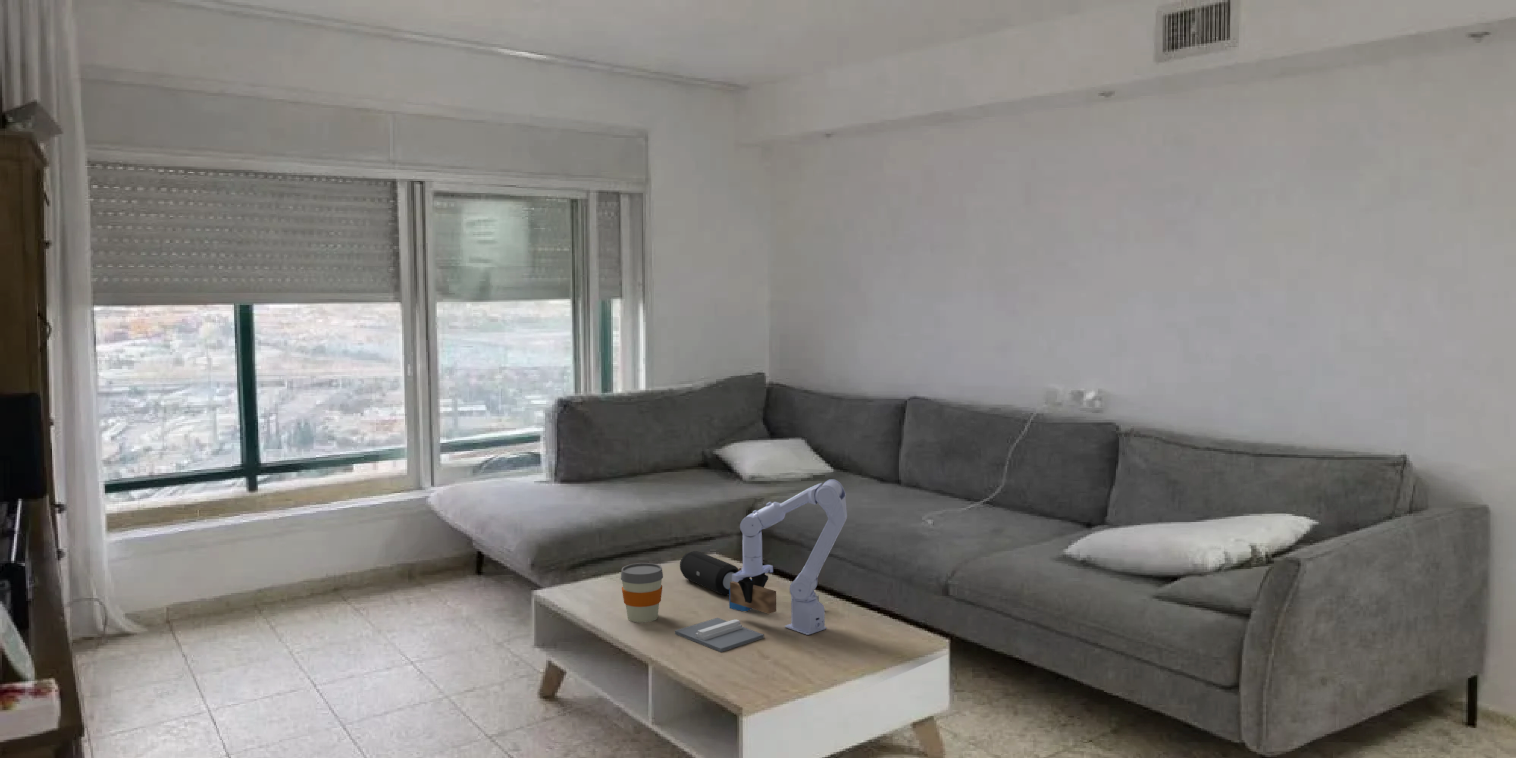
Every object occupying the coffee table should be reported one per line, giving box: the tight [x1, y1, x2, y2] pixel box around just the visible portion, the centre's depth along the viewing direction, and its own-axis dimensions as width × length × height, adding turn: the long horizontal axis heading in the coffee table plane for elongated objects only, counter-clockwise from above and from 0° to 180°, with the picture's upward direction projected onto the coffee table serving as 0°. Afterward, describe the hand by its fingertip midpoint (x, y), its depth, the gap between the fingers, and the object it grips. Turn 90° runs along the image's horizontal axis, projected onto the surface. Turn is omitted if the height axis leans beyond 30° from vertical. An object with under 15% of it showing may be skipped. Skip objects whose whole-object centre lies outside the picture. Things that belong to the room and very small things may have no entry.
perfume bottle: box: [728, 567, 753, 612], centre depth 320 cm, size 6×6×12 cm
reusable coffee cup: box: [620, 562, 664, 624], centre depth 311 cm, size 12×13×15 cm
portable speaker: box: [679, 550, 739, 596], centre depth 341 cm, size 26×10×10 cm, turn 36°
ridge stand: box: [674, 617, 765, 653], centre depth 295 cm, size 20×16×3 cm
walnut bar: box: [730, 581, 777, 615], centre depth 305 cm, size 16×3×6 cm, turn 45°
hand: (752, 600), depth 305 cm, fingers closed on walnut bar, 3 cm apart
